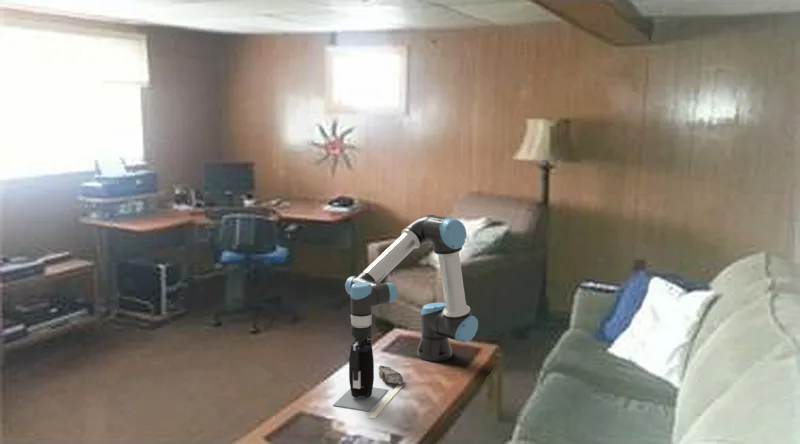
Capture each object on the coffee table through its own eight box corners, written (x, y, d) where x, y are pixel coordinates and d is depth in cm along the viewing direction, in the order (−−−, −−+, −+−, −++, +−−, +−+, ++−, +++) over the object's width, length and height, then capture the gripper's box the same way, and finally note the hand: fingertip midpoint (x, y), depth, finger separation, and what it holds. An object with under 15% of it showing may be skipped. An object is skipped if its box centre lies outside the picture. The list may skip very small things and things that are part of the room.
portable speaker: (369, 400, 257) (369, 349, 254) (345, 397, 260) (345, 346, 256) (376, 391, 265) (376, 341, 262) (353, 388, 268) (353, 339, 264)
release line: (397, 386, 274) (397, 385, 274) (402, 386, 273) (402, 386, 273) (369, 418, 246) (369, 417, 246) (374, 419, 245) (374, 418, 245)
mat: (354, 385, 274) (354, 384, 274) (388, 390, 270) (388, 389, 270) (333, 405, 255) (333, 404, 255) (368, 411, 251) (368, 410, 251)
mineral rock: (405, 386, 273) (406, 375, 272) (386, 388, 271) (386, 377, 270) (396, 373, 287) (396, 362, 286) (377, 375, 285) (377, 364, 284)
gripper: (362, 315, 269) (362, 371, 273) (340, 332, 249) (340, 392, 253) (381, 317, 267) (381, 374, 270) (359, 334, 247) (359, 395, 250)
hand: (361, 383), depth 262 cm, fingers closed on portable speaker, 9 cm apart
